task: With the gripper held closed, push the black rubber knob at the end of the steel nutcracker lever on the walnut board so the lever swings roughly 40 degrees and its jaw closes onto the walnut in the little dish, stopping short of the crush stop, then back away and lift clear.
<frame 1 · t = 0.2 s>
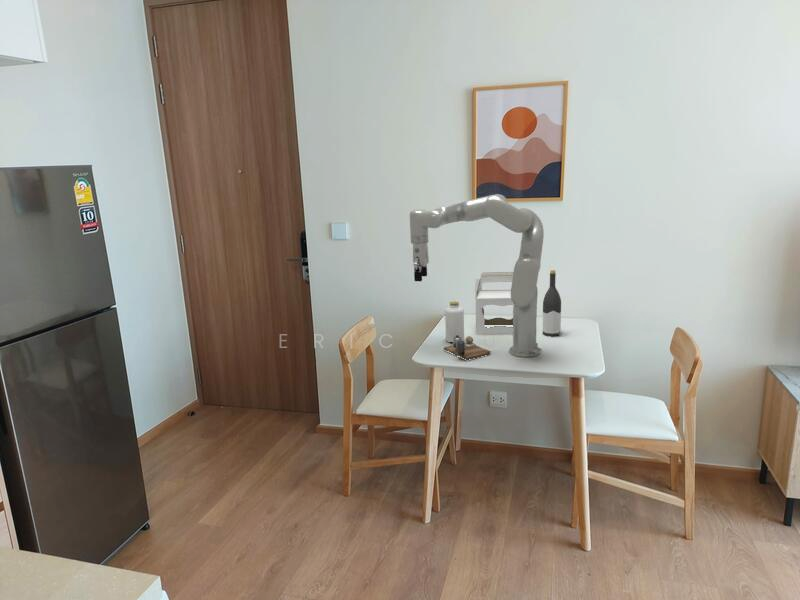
hand: (420, 278, 245), 31 cm above the table, tool pointing down, fingers open, 9 cm apart
lever: (459, 343, 238), point 5 cm above the table, hinge at 0.0°
board: (466, 352, 241), on the table
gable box: (499, 330, 269), on the table
white container: (455, 341, 257), on the table
wine bottle: (551, 334, 260), on the table
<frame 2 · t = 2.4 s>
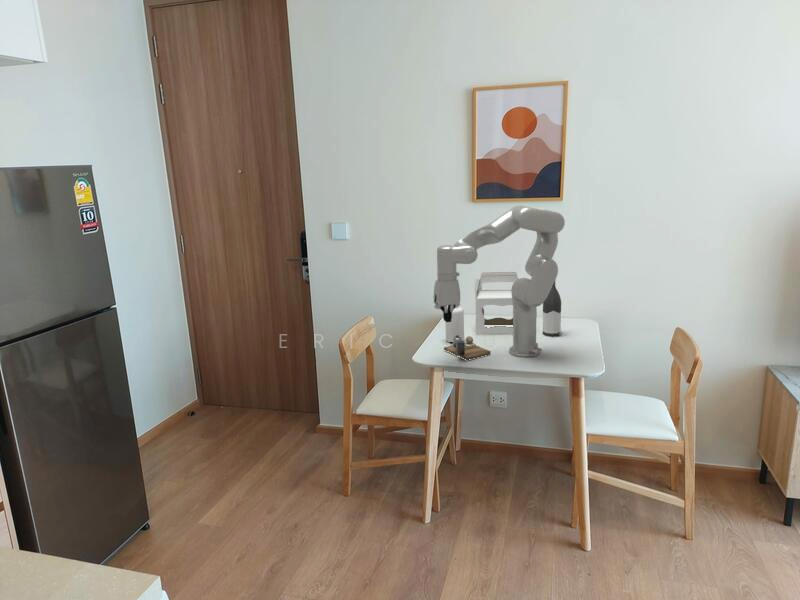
hand: (447, 321, 228), 17 cm above the table, tool pointing down, fingers closed
nothing on the table moved.
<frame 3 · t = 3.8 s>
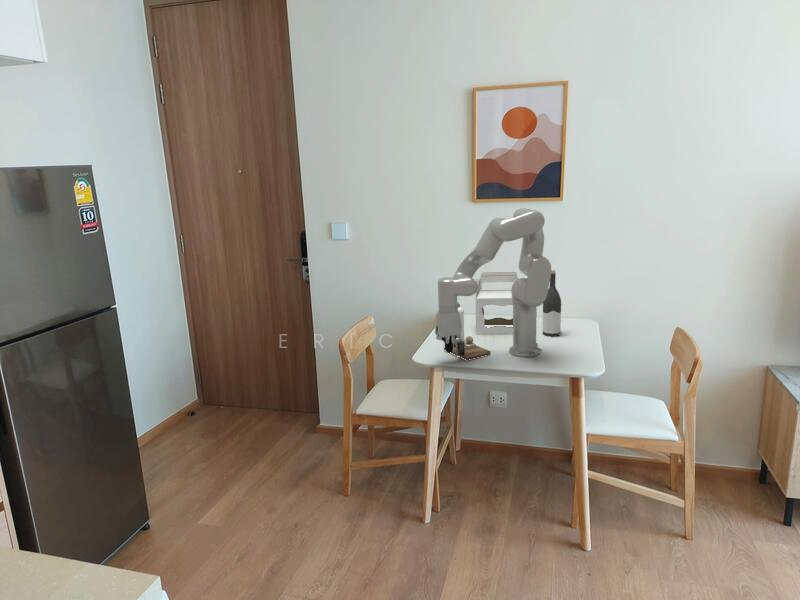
hand: (449, 351, 231), 4 cm above the table, tool pointing down, fingers closed
nothing on the table moved.
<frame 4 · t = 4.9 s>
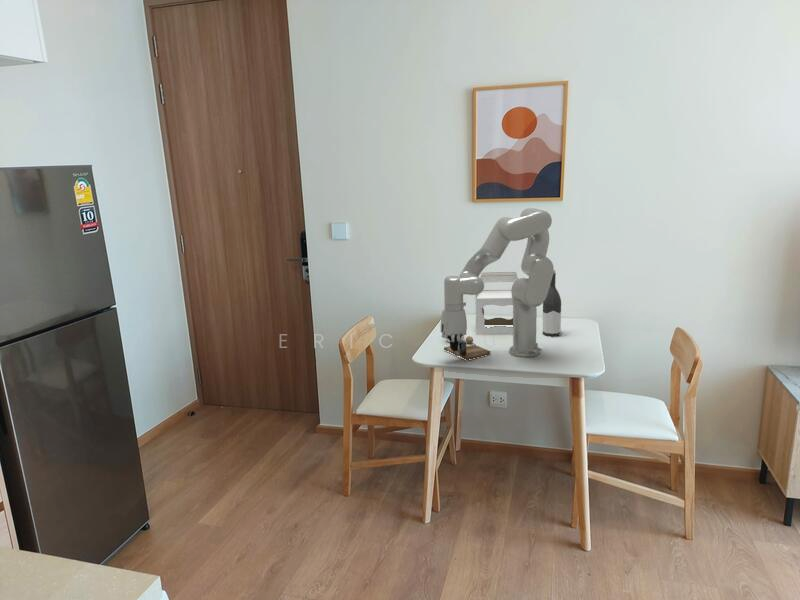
hand: (454, 350, 231), 5 cm above the table, tool pointing down, fingers closed
lever: (460, 343, 238), point 5 cm above the table, hinge at 3.4°, touching gripper
everything else where it was.
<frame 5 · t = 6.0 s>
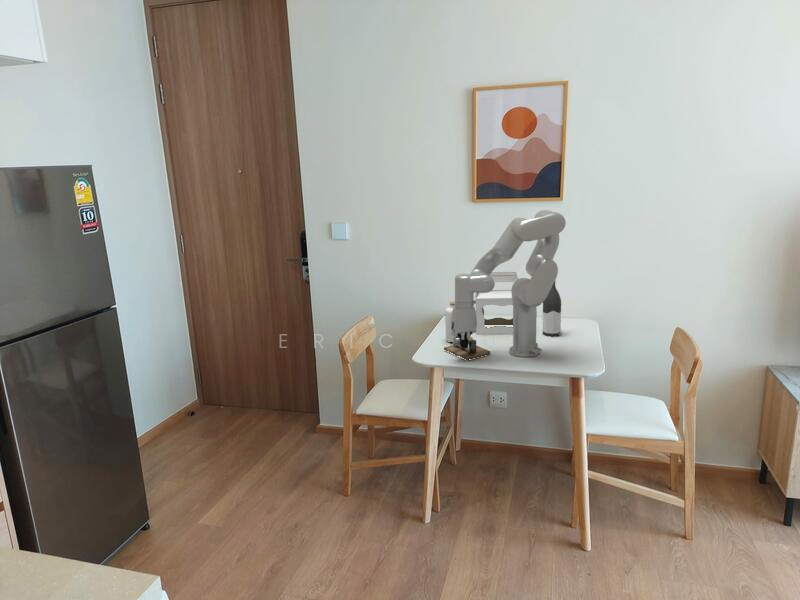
hand: (464, 347, 233), 5 cm above the table, tool pointing down, fingers closed
lever: (465, 342, 239), point 5 cm above the table, hinge at 24.8°, touching gripper
everything else where it was.
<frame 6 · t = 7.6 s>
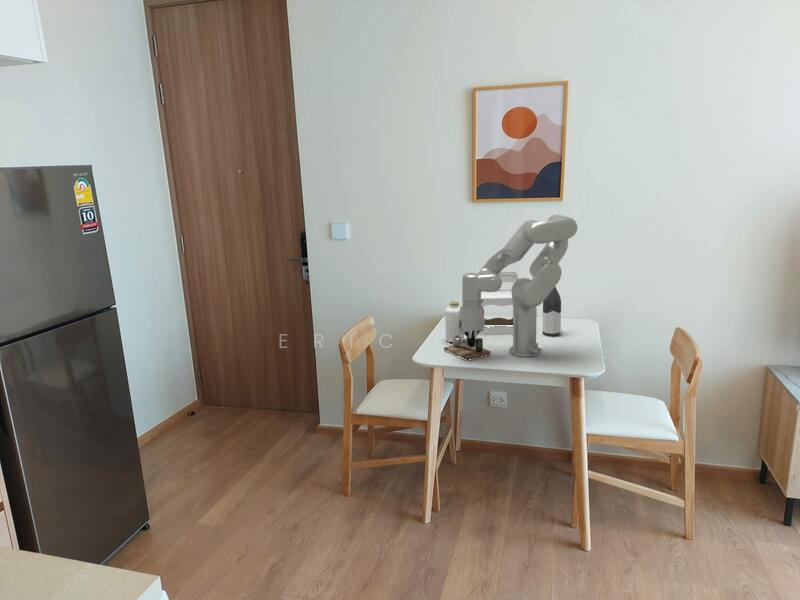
hand: (471, 346, 234), 5 cm above the table, tool pointing down, fingers closed
lever: (468, 341, 240), point 5 cm above the table, hinge at 41.7°, touching gripper
everything else where it was.
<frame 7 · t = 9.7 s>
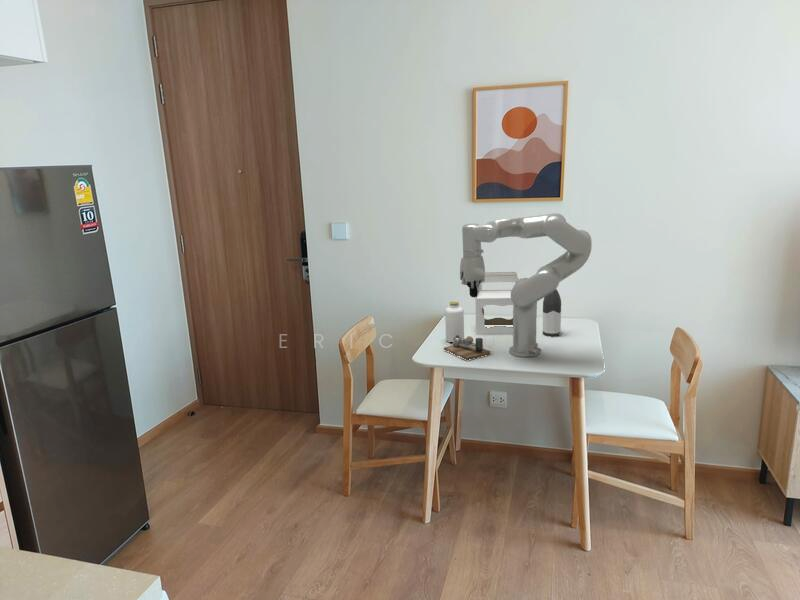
hand: (473, 296, 239), 23 cm above the table, tool pointing down, fingers closed
lever: (468, 341, 240), point 5 cm above the table, hinge at 41.7°
everything else where it was.
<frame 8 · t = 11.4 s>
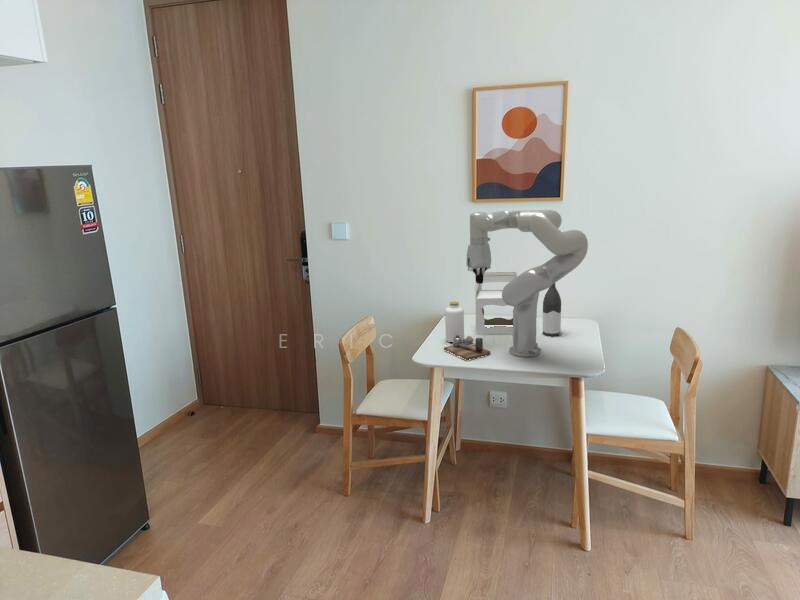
hand: (479, 283, 247), 27 cm above the table, tool pointing down, fingers closed
nothing on the table moved.
at the end: lever at +42° (first picture: +0°) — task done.
